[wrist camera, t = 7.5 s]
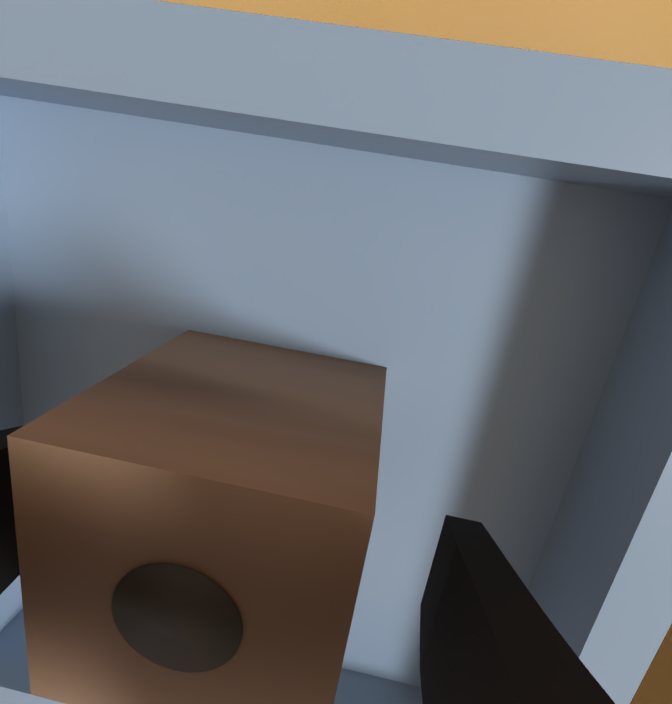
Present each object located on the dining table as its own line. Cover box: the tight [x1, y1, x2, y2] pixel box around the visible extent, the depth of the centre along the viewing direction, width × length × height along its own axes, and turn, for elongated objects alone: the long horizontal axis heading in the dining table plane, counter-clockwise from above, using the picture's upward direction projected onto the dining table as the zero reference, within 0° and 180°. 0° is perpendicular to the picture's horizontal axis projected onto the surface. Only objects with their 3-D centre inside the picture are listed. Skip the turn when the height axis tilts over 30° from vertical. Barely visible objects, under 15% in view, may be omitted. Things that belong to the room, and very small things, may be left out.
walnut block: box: [7, 330, 387, 704], centre depth 8 cm, size 4×4×5 cm
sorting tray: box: [0, 0, 672, 704], centre depth 10 cm, size 16×16×3 cm
